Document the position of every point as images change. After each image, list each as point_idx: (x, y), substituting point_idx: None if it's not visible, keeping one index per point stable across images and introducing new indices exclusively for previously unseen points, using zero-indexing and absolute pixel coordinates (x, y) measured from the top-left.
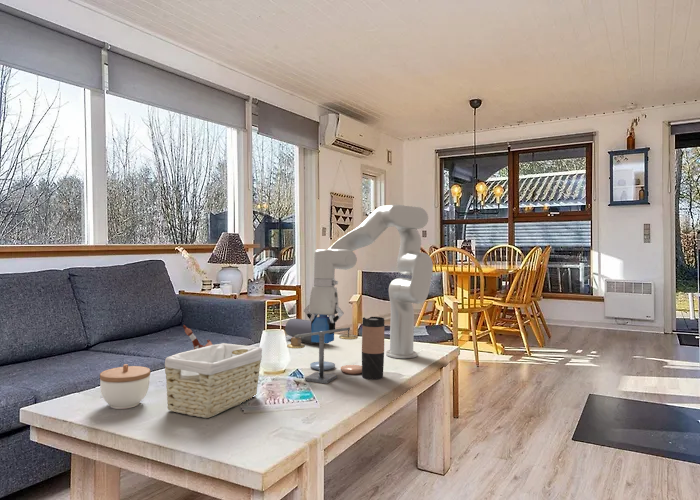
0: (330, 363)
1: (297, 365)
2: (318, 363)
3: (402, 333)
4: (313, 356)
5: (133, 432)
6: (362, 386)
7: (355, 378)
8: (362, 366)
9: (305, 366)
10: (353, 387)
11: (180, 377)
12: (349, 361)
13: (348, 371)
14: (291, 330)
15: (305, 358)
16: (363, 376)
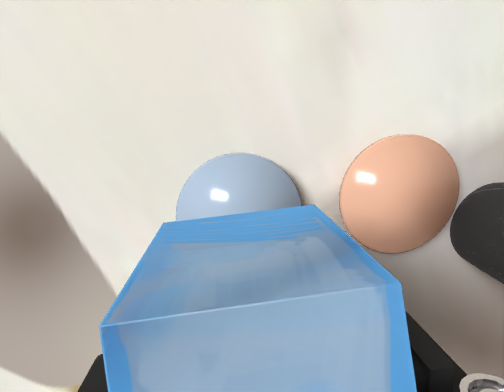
0: (264, 180)
1: (110, 239)
2: (212, 213)
3: None
4: (34, 5)
5: None
6: (485, 343)
7: (434, 278)
8: (494, 276)
9: (155, 234)
10: (460, 366)
11: None
12: (295, 9)
13: (397, 251)
14: None
15: (33, 84)
16: (465, 259)
